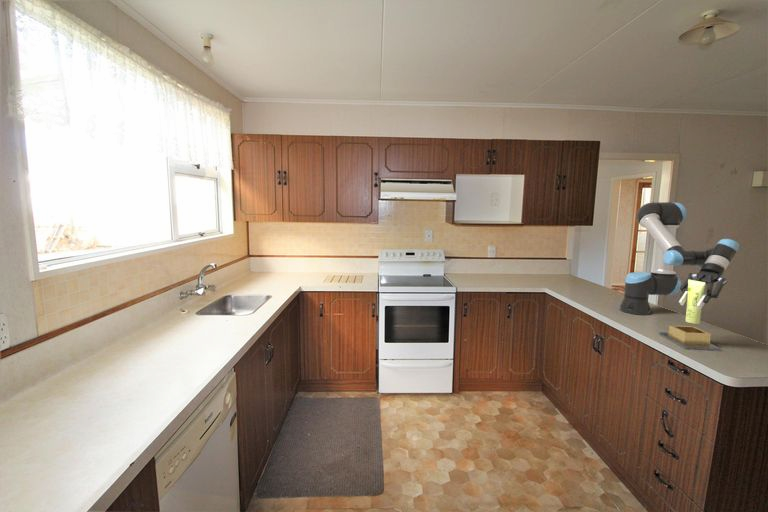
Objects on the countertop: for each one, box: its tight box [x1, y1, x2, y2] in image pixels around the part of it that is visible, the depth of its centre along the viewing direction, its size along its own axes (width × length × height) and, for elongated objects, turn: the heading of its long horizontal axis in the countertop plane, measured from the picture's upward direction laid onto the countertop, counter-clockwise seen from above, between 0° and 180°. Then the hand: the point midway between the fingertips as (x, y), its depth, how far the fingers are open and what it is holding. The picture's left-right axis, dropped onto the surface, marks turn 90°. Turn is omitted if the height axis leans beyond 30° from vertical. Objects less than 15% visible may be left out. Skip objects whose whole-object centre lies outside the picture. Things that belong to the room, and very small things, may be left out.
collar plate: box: [658, 325, 722, 352], centre depth 161 cm, size 18×14×6 cm
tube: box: [685, 279, 706, 325], centre depth 157 cm, size 6×5×20 cm
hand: (689, 305), depth 156 cm, fingers closed on tube, 6 cm apart
